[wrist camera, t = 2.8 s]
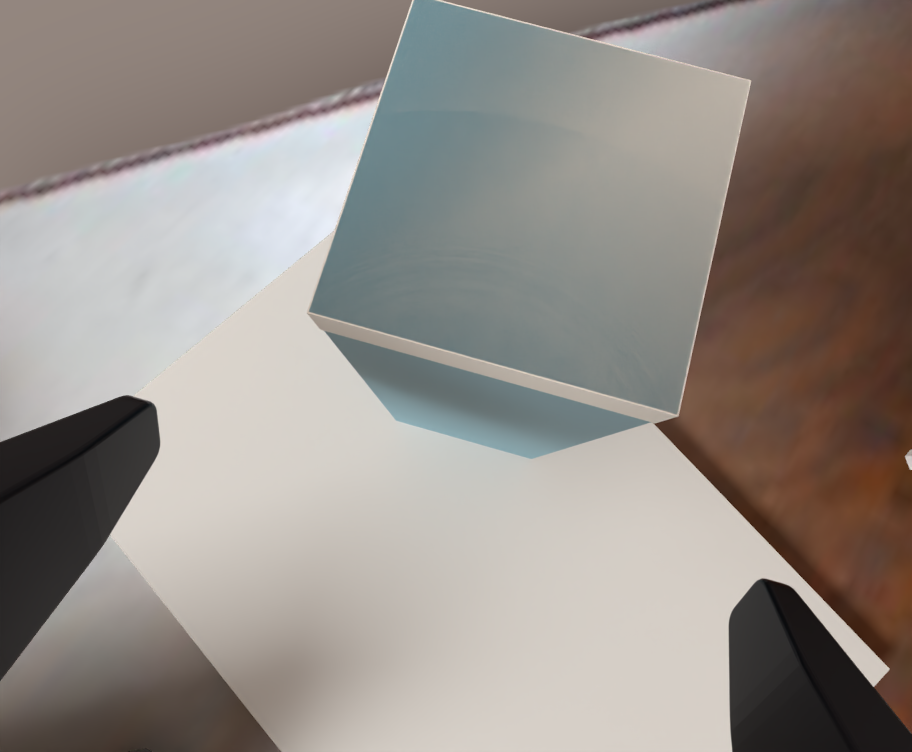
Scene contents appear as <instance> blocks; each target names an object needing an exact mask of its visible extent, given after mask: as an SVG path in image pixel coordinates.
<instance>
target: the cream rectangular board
mask: <svg viewBox="0 0 912 752" xmlns="http://www.w3.org/2000/svg"><path fill="white" fill-rule="evenodd" d="M333 233H334V231H333V232H332V233H331V234H330V235H328V236H327V237H326V238H325V239H323V240H322V241H321V242H320V243H319V244H317V245H316V246H315V247H314V248H313V249H311V250H310V251H309V252H308V253H306V254H305V255H304V256H303V257H302V258H300V259H299V260H298V261H297V262H295V263H294V264H293V265H292V266H291V267H289V268H288V269H287V270H286V271H285V272H283V273H282V274H281V275H280V276H278V277H277V278H276V279H275V280H274V281H272V282H271V283H270V284H269V285H267V286H266V287H265V288H264V289H263V290H261V291H260V292H259V293H258V294H257V295H255V296H254V297H253V298H252V299H250V300H249V301H248V302H247V303H246V304H244V305H243V306H242V307H241V308H239V309H238V310H237V311H236V312H235V313H233V314H232V315H231V316H230V317H229V318H227V319H226V320H225V321H224V322H222V323H221V324H220V325H219V326H218V327H216V328H215V329H214V330H213V331H211V332H210V333H209V334H208V335H207V336H205V337H204V338H203V339H202V340H201V341H199V342H198V343H197V344H196V345H194V346H193V347H192V348H191V349H190V350H188V351H187V352H186V353H185V354H183V355H182V356H181V357H180V358H179V359H177V360H176V361H175V362H174V363H173V364H171V365H170V366H169V367H168V368H166V369H165V370H164V371H163V372H162V373H160V374H159V375H158V376H157V377H155V378H154V379H153V380H152V381H151V382H149V383H148V384H147V385H146V386H145V387H143V388H142V389H141V390H140V391H138V392H137V393H136V394H135V395H134V397H137V398H141V399H144V400H148V401H151V402H152V403H154V405H155V406H156V409H157V415H158V424H159V433H160V449H159V453H158V455H157V458H156V459H155V461H154V463H153V464H152V466H151V468H150V469H149V471H148V473H147V474H146V476H145V478H144V479H143V481H142V483H141V484H140V486H139V488H138V489H137V491H136V493H135V494H134V496H133V498H132V499H131V501H130V503H129V504H128V506H127V507H126V509H125V511H124V512H123V514H122V516H121V517H120V519H119V521H118V522H117V524H116V526H115V527H114V529H113V531H112V532H111V534H110V536H111V537H112V539H113V540H114V541H115V542H116V544H117V545H118V546H119V547H120V549H121V550H122V551H123V552H124V554H125V555H126V556H127V557H128V559H129V560H130V561H131V563H132V564H133V565H134V566H135V568H136V569H137V570H138V571H139V573H140V574H141V575H142V576H143V578H144V579H145V580H146V582H147V583H148V584H149V585H150V587H151V588H152V589H153V590H154V592H155V593H156V594H157V595H158V597H159V598H160V599H161V600H162V602H163V603H164V604H165V606H166V607H167V608H168V609H169V611H170V612H171V613H172V614H173V616H174V617H175V618H176V619H177V621H178V622H179V623H180V624H181V626H182V627H183V628H184V630H185V631H186V632H187V633H188V635H189V636H190V637H191V638H192V640H193V641H194V642H195V643H196V645H197V646H198V647H199V648H200V650H201V651H202V652H203V654H204V655H205V656H206V657H207V659H208V660H209V661H210V662H211V664H212V665H213V666H214V667H215V669H216V670H217V671H218V672H219V674H220V675H221V676H222V678H223V679H224V680H225V681H226V683H227V684H228V685H229V686H230V688H231V689H232V690H233V691H234V693H235V694H236V695H237V697H238V698H239V699H240V700H241V702H242V703H243V704H244V705H245V707H246V708H247V709H248V710H249V712H250V713H251V714H252V715H253V717H254V718H255V719H256V721H257V722H258V723H259V724H260V726H261V727H262V728H263V729H264V731H265V732H266V733H267V734H268V736H269V737H270V738H271V739H272V741H273V742H274V743H275V745H276V746H277V747H278V748H279V750H280V751H281V752H732V744H731V733H730V707H729V629H728V627H729V618H730V615H731V612H732V610H733V609H734V607H735V606H736V605H737V603H738V602H739V601H740V600H741V599H742V597H743V596H744V595H745V594H746V592H747V591H748V590H749V589H750V588H751V586H752V585H753V584H754V583H755V582H756V581H757V580H759V579H762V578H766V579H769V580H773V581H776V582H780V583H783V584H787V585H789V586H791V587H792V588H793V589H794V590H795V591H796V592H797V593H798V594H799V595H800V597H801V598H802V599H803V600H804V602H805V603H806V604H807V605H808V607H809V608H810V609H811V610H812V612H813V613H814V614H815V615H816V616H817V618H818V619H819V620H820V621H821V623H822V624H823V625H824V626H825V628H826V629H827V630H828V631H829V632H830V634H831V635H832V636H833V637H834V639H835V640H836V641H837V642H838V644H839V645H840V646H841V647H842V649H843V650H844V651H845V652H846V653H847V655H848V656H849V657H850V658H851V660H852V661H853V662H854V663H855V665H856V666H857V667H858V668H859V670H860V671H861V672H862V673H863V674H864V676H865V677H866V678H867V679H868V681H869V682H870V683H871V684H872V686H873V687H874V686H875V685H876V684H877V683H878V682H879V681H880V679H881V678H882V677H883V676H884V675H885V674H886V673H887V672H888V671H889V668H888V667H887V666H886V665H885V664H884V663H883V662H882V661H881V660H880V658H879V657H878V656H877V655H876V654H875V653H874V652H873V651H872V650H871V649H870V648H869V647H868V646H867V645H866V644H865V643H864V642H863V641H862V640H861V639H860V638H859V637H858V636H857V635H856V634H855V633H854V631H853V630H852V629H851V628H850V627H849V626H848V625H847V624H846V623H845V622H844V621H843V620H842V619H841V618H840V617H839V616H838V615H837V614H836V613H835V612H834V611H833V610H832V609H831V608H830V607H829V605H828V604H827V603H826V602H825V601H824V600H823V599H822V598H821V597H820V596H819V595H818V594H817V593H816V592H815V591H814V590H813V589H812V588H811V587H810V586H809V585H808V584H807V583H806V582H805V581H804V579H803V578H802V577H801V576H800V575H799V574H798V573H797V572H796V571H795V570H794V569H793V568H792V567H791V566H790V565H789V564H788V563H787V562H786V561H785V560H784V559H783V558H782V557H781V556H780V555H779V554H778V552H777V551H776V550H775V549H774V548H773V547H772V546H771V545H770V544H769V543H768V542H767V541H766V540H765V539H764V538H763V537H762V536H761V535H760V534H759V533H758V532H757V531H756V530H755V529H754V528H753V526H752V525H751V524H750V523H749V522H748V521H747V520H746V519H745V518H744V517H743V516H742V515H741V514H740V513H739V512H738V511H737V510H736V509H735V508H734V507H733V506H732V505H731V504H730V503H729V502H728V500H727V499H726V498H725V497H724V496H723V495H722V494H721V493H720V492H719V491H718V490H717V489H716V488H715V487H714V486H713V485H712V484H711V483H710V482H709V481H708V480H707V479H706V478H705V477H704V476H703V475H702V473H701V472H700V471H699V470H698V469H697V468H696V467H695V466H694V465H693V464H692V463H691V462H690V461H689V460H688V459H687V458H686V457H685V456H684V455H683V454H682V453H681V452H680V451H679V450H678V449H677V447H676V446H675V445H674V444H673V443H672V442H671V441H670V440H669V439H668V438H667V437H666V436H665V435H664V434H663V433H662V432H661V431H660V430H659V429H658V428H657V427H656V426H655V425H654V424H653V423H652V422H651V423H647V424H644V425H641V426H638V427H634V428H631V429H628V430H625V431H621V432H618V433H615V434H612V435H608V436H605V437H602V438H598V439H595V440H592V441H589V442H585V443H582V444H579V445H576V446H572V447H569V448H566V449H563V450H559V451H556V452H553V453H550V454H546V455H543V456H540V457H536V458H533V459H529V458H526V457H522V456H519V455H515V454H512V453H508V452H505V451H501V450H498V449H494V448H490V447H487V446H483V445H480V444H476V443H473V442H469V441H466V440H462V439H459V438H455V437H452V436H448V435H445V434H441V433H438V432H434V431H431V430H427V429H424V428H420V427H416V426H413V425H409V424H406V423H402V422H399V421H396V420H395V419H394V417H393V416H392V415H391V414H390V412H389V411H388V410H387V409H386V407H385V406H384V405H383V404H382V402H381V401H380V400H379V399H378V398H377V396H376V395H375V394H374V393H373V391H372V390H371V389H370V388H369V386H368V385H367V384H366V383H365V381H364V380H363V379H362V378H361V376H360V375H359V374H358V373H357V371H356V370H355V369H354V368H353V366H352V365H351V364H350V363H349V361H348V360H347V359H346V358H345V356H344V355H343V354H342V353H341V351H340V350H339V349H338V348H337V346H336V345H335V344H334V343H333V341H332V340H331V339H330V338H329V336H328V335H327V334H326V333H325V331H323V330H320V329H319V327H318V326H317V325H316V324H315V322H314V321H313V320H312V319H311V318H310V316H309V315H308V314H307V310H308V307H309V304H310V301H311V298H312V296H313V293H314V290H315V287H316V284H317V281H318V278H319V275H320V272H321V269H322V266H323V263H324V260H325V257H326V254H327V251H328V248H329V245H330V242H331V239H332V236H333Z"/></svg>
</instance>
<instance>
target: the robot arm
mask: <svg viewBox="0 0 912 752" xmlns="http://www.w3.org/2000/svg"><path fill="white" fill-rule="evenodd" d="M159 449H160V433H159V424H158V415H157V409H156V406H155V405H154V403H152V402H151V401H148V400H144V399H141V398H137V397H134V396H129V395H126V396H121V397H118V398H115V399H113V400H110V401H107V402H105V403H102V404H100V405H97V406H94V407H92V408H89V409H86V410H84V411H81V412H79V413H76V414H73V415H71V416H68V417H65V418H63V419H60V420H57V421H55V422H52V423H50V424H47V425H44V426H42V427H39V428H36V429H34V430H31V431H28V432H26V433H23V434H21V435H18V436H15V437H13V438H10V439H7V440H5V441H2V442H0V681H1V679H2V678H3V677H4V675H5V674H6V673H7V671H8V670H9V669H10V668H11V666H12V665H13V664H14V662H15V661H16V660H17V658H18V657H19V656H20V654H21V653H22V652H23V650H24V649H25V648H26V647H27V645H28V644H29V643H30V641H31V640H32V639H33V637H34V636H35V635H36V633H37V632H38V631H39V629H40V628H41V627H42V626H43V624H44V623H45V622H46V620H47V619H48V618H49V616H50V615H51V614H52V612H53V611H54V610H55V608H56V607H57V606H58V605H59V603H60V602H61V601H62V599H63V598H64V597H65V595H66V594H67V593H68V591H69V590H70V589H71V587H72V586H73V585H74V584H75V582H76V581H77V580H78V578H79V577H80V576H81V574H82V573H83V572H84V570H85V569H86V568H87V566H88V565H89V564H90V563H91V561H92V560H93V559H94V557H95V556H96V554H97V553H98V552H99V550H100V549H101V547H102V546H103V545H104V543H105V542H106V540H107V538H108V537H109V535H110V534H111V532H112V531H113V529H114V527H115V526H116V524H117V522H118V521H119V519H120V517H121V516H122V514H123V512H124V511H125V509H126V507H127V506H128V504H129V503H130V501H131V499H132V498H133V496H134V494H135V493H136V491H137V489H138V488H139V486H140V484H141V483H142V481H143V479H144V478H145V476H146V474H147V473H148V471H149V469H150V468H151V466H152V464H153V463H154V461H155V459H156V458H157V455H158V453H159ZM728 629H729V707H730V733H731V744H732V752H912V734H911V732H910V731H909V730H908V729H907V728H906V726H905V725H904V724H903V723H902V721H901V720H900V719H899V718H898V716H897V715H896V714H895V713H894V712H893V710H892V709H891V708H890V707H889V705H888V704H887V703H886V702H885V700H884V699H883V698H882V697H881V695H880V694H879V693H878V692H877V691H876V689H875V688H874V687H873V686H872V684H871V683H870V682H869V681H868V679H867V678H866V677H865V676H864V674H863V673H862V672H861V671H860V670H859V668H858V667H857V666H856V665H855V663H854V662H853V661H852V660H851V658H850V657H849V656H848V655H847V653H846V652H845V651H844V650H843V649H842V647H841V646H840V645H839V644H838V642H837V641H836V640H835V639H834V637H833V636H832V635H831V634H830V632H829V631H828V630H827V629H826V628H825V626H824V625H823V624H822V623H821V621H820V620H819V619H818V618H817V616H816V615H815V614H814V613H813V612H812V610H811V609H810V608H809V607H808V605H807V604H806V603H805V602H804V600H803V599H802V598H801V597H800V595H799V594H798V593H797V592H796V591H795V590H794V589H793V588H792V587H791V586H789V585H787V584H783V583H780V582H776V581H773V580H769V579H766V578H762V579H759V580H757V581H756V582H755V583H754V584H753V585H752V586H751V588H750V589H749V590H748V591H747V592H746V594H745V595H744V596H743V597H742V599H741V600H740V601H739V602H738V603H737V605H736V606H735V607H734V609H733V610H732V612H731V615H730V618H729V627H728Z"/></svg>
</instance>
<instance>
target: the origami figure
mask: <svg viewBox="0 0 912 752" xmlns="http://www.w3.org/2000/svg"><path fill="white" fill-rule="evenodd" d="M905 458H906V461H907V463H908V466H909V468H910V470H912V449H911V450H910V451H909V452H908V453H907V455H906V456H905Z"/></svg>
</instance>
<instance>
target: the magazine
mask: <svg viewBox="0 0 912 752" xmlns="http://www.w3.org/2000/svg"><path fill="white" fill-rule="evenodd" d="M129 752H152V751H150V750H148V749H145V748H144V749H137V750H131V751H129Z"/></svg>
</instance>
